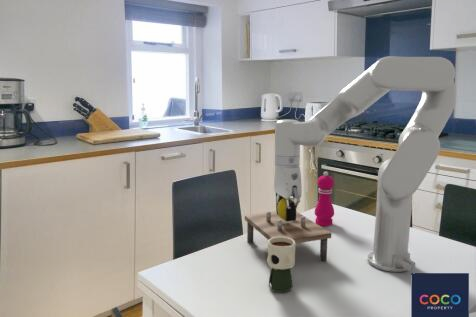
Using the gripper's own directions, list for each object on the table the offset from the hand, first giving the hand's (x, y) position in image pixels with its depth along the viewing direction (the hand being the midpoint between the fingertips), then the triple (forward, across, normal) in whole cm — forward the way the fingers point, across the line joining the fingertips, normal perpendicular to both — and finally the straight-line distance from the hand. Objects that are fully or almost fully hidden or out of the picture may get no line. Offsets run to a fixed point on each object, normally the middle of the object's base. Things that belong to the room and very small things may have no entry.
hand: (286, 216), depth 132 cm
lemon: (+2, 0, 0) cm, 2 cm away
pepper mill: (+12, +17, -25) cm, 32 cm away
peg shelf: (+11, 0, 0) cm, 11 cm away
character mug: (+12, -21, +12) cm, 27 cm away
